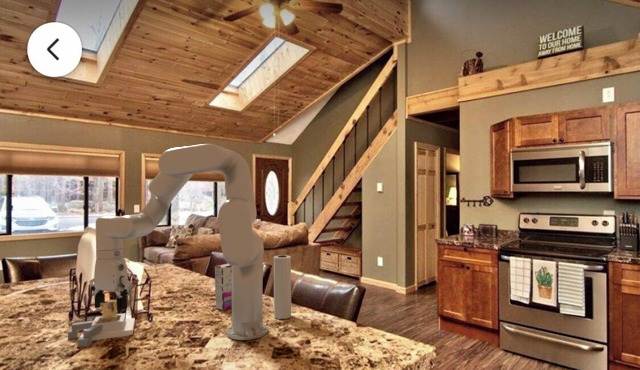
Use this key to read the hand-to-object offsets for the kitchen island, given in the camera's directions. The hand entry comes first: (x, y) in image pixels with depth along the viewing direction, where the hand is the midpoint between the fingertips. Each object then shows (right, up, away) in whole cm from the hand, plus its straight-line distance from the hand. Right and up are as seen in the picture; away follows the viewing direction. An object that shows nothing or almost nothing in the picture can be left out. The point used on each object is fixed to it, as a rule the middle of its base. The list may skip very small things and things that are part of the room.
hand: (110, 308), depth 117 cm
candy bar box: (+32, -8, +25) cm, 42 cm away
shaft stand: (-1, -7, -3) cm, 8 cm away
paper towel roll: (+54, -7, +13) cm, 56 cm away
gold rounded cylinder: (0, -6, 0) cm, 6 cm away
